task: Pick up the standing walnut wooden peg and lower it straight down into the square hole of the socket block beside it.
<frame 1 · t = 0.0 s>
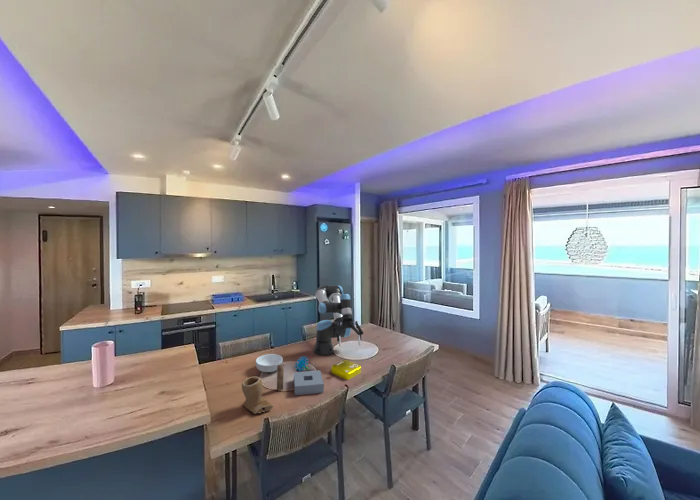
hand: (350, 345, 187), 15 cm above the table, tool tilted 35°, fingers open, 13 cm apart
walnut peg: (279, 389, 158), on the table
cereal bowl: (269, 370, 181), on the table
socket block: (308, 386, 163), on the table
blue knobby branching toy: (302, 369, 183), on the table
element tile: (346, 372, 182), on the table
tan boot: (255, 408, 141), on the table
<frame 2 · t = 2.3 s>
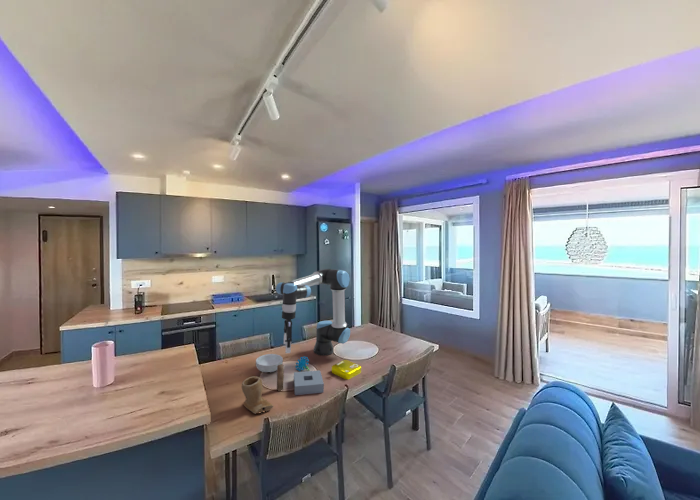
hand: (286, 348, 157), 24 cm above the table, tool pointing down, fingers open, 13 cm apart
nothing on the table moved.
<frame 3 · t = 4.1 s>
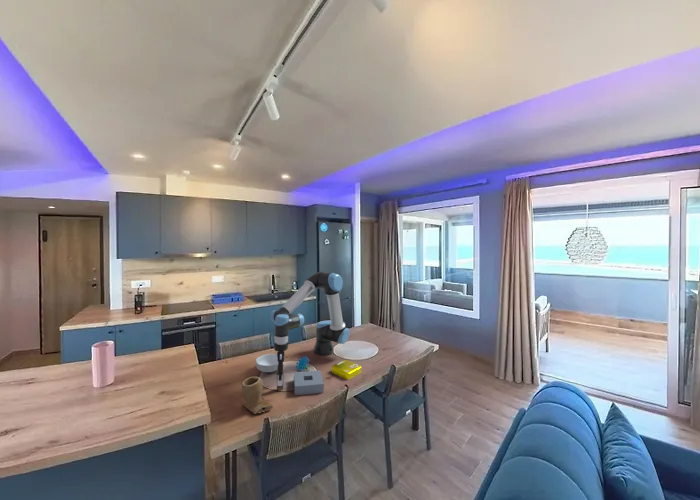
hand: (279, 379, 158), 6 cm above the table, tool pointing down, fingers open, 13 cm apart
nothing on the table moved.
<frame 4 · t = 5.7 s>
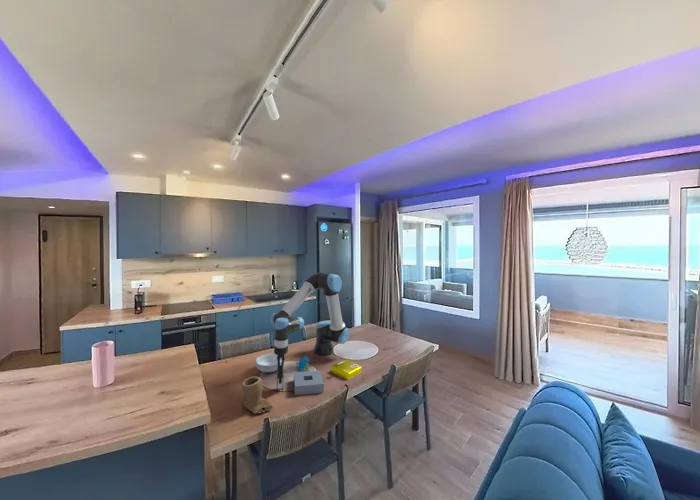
hand: (280, 386, 158), 2 cm above the table, tool pointing down, fingers closed on walnut peg, 3 cm apart
walnut peg: (279, 389, 158), on the table, touching gripper
everything else where it was.
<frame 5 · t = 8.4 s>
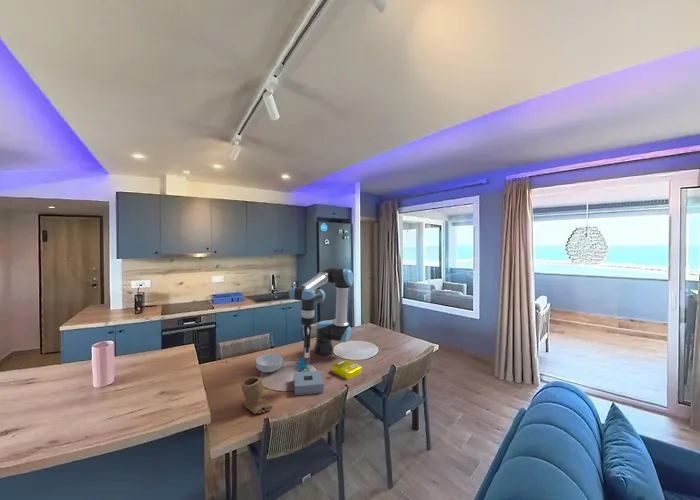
hand: (306, 355, 162), 18 cm above the table, tool pointing down, fingers closed on walnut peg, 3 cm apart
walnut peg: (306, 361, 162), point 15 cm above the table, touching gripper
everything else where it was.
when the fingers open (5 cm above the table, at t = 11.4 s): walnut peg drops 1 cm, resting in socket block.
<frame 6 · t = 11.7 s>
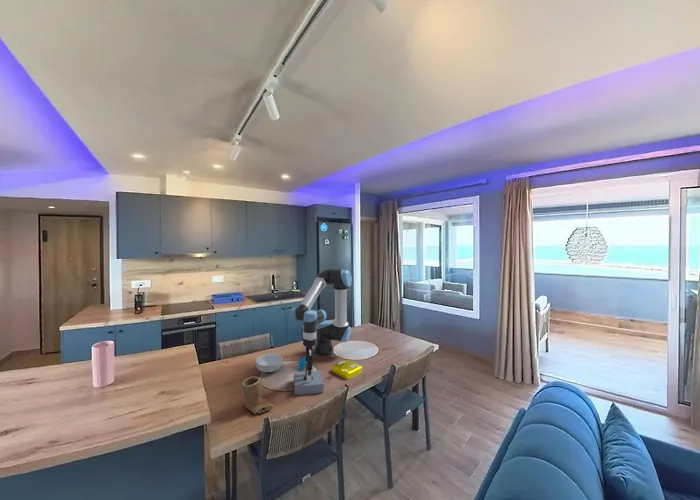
hand: (308, 376, 163), 6 cm above the table, tool pointing down, fingers open, 8 cm apart
walnut peg: (308, 386, 163), resting in socket block
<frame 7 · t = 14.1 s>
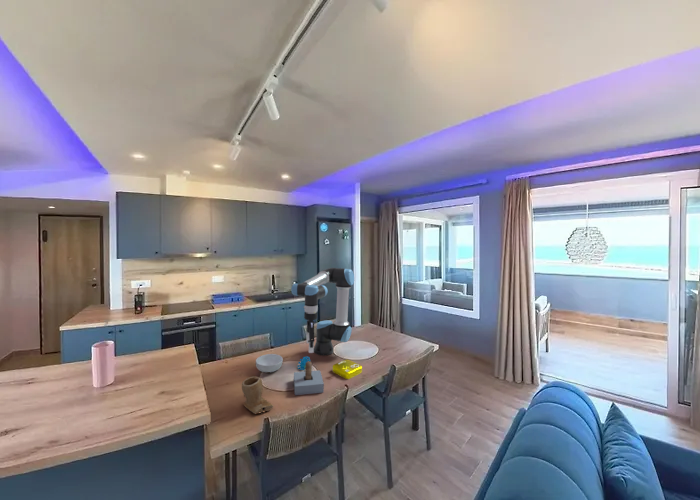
hand: (309, 347, 162), 23 cm above the table, tool pointing down, fingers open, 13 cm apart
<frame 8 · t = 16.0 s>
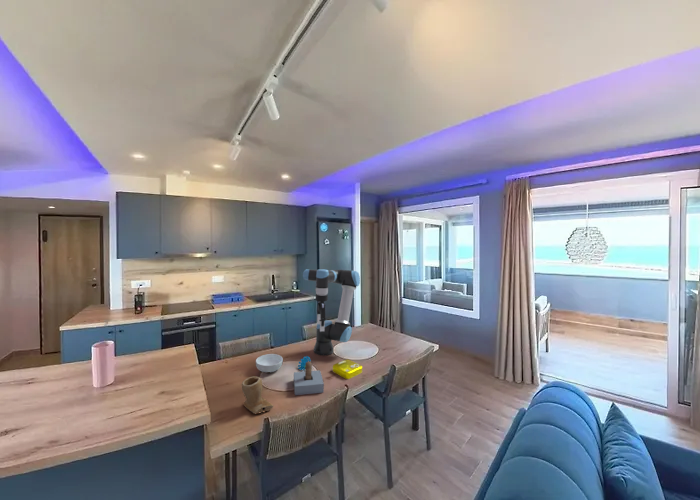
hand: (320, 327, 175), 31 cm above the table, tool pointing down, fingers open, 13 cm apart
at the end: walnut peg 0.0 cm off-centre on the socket block, point 0.0 cm above the socket block's base; walnut peg tilted 0°; the gripper is holding nothing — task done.
